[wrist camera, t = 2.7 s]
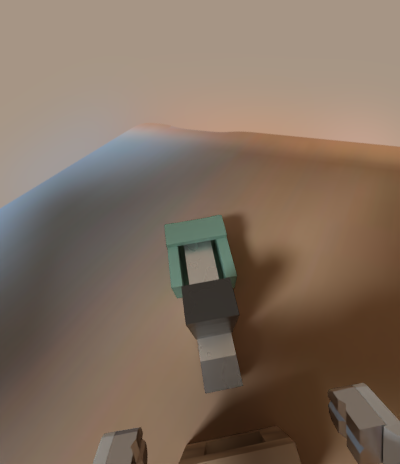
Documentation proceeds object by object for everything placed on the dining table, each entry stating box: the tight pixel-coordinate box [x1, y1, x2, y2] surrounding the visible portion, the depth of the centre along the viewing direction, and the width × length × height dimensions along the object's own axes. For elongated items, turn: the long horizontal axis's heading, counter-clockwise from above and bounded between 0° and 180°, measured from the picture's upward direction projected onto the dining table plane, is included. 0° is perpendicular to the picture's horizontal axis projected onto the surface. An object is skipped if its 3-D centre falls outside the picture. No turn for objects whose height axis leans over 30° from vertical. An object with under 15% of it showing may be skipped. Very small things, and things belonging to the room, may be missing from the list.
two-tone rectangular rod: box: [181, 240, 243, 393], centre depth 18 cm, size 3×15×9 cm, turn 9°
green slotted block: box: [164, 215, 237, 298], centre depth 22 cm, size 6×7×4 cm
